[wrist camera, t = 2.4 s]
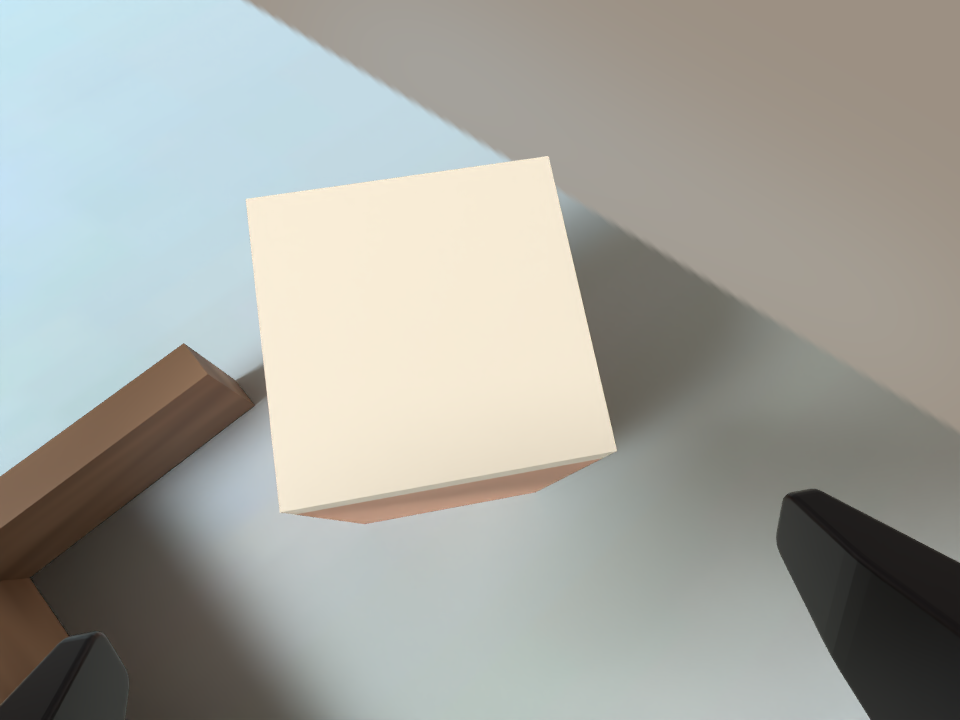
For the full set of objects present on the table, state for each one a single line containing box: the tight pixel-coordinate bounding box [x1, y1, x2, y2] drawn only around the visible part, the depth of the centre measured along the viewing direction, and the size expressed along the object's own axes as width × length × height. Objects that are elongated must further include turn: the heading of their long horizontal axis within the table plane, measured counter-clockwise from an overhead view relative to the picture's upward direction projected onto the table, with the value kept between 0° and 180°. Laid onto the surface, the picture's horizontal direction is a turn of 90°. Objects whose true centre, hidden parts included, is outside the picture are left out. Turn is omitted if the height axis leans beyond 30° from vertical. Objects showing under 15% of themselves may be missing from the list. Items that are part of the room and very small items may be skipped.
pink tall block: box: [246, 156, 617, 524], centre depth 15 cm, size 5×5×10 cm
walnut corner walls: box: [0, 343, 255, 705], centre depth 16 cm, size 12×8×4 cm
